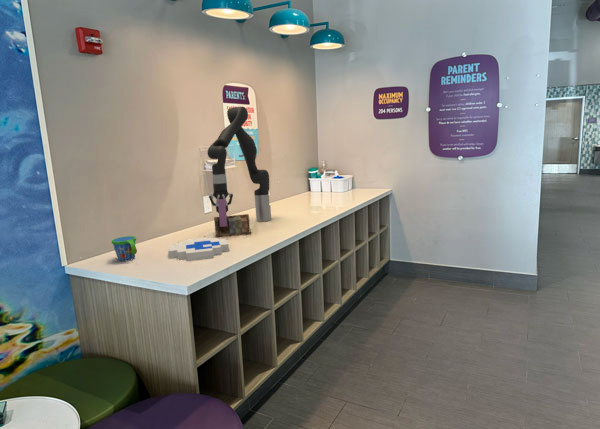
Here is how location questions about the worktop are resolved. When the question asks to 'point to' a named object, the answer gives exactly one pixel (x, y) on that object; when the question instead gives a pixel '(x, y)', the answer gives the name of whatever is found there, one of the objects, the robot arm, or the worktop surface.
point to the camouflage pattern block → (233, 226)
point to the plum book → (222, 212)
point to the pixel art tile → (198, 248)
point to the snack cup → (125, 247)
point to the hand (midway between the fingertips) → (222, 212)
